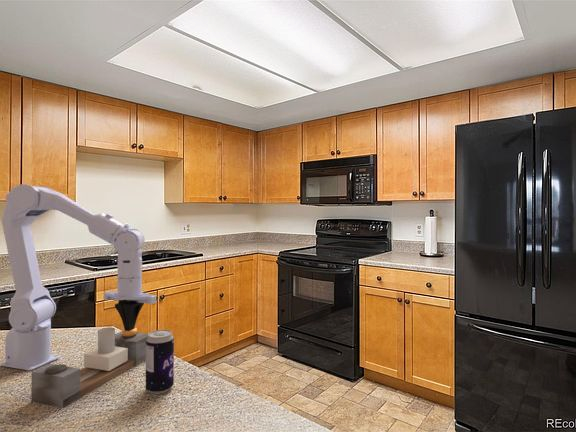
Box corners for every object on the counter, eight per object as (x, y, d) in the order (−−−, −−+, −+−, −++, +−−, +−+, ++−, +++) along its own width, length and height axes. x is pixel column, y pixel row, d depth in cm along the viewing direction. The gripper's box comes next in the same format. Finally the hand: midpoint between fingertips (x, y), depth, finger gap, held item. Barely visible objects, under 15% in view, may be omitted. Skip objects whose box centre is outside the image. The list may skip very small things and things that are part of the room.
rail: (29, 401, 72) (29, 369, 72) (123, 352, 97) (123, 329, 97) (65, 408, 70) (65, 375, 69) (151, 356, 94) (151, 332, 94)
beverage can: (164, 397, 74) (165, 339, 74) (139, 394, 75) (140, 336, 75) (178, 384, 80) (178, 330, 80) (155, 381, 81) (155, 328, 81)
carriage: (83, 366, 84) (84, 332, 83) (103, 356, 89) (104, 324, 89) (108, 370, 82) (109, 335, 81) (127, 360, 87) (127, 327, 87)
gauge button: (118, 342, 92) (118, 330, 92) (128, 338, 95) (128, 326, 95) (130, 344, 91) (130, 332, 91) (140, 339, 94) (140, 328, 94)
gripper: (94, 277, 91) (94, 331, 91) (143, 281, 87) (143, 337, 87) (115, 273, 98) (115, 323, 98) (161, 276, 94) (161, 328, 94)
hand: (129, 329), depth 93 cm, fingers closed, pressing on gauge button
